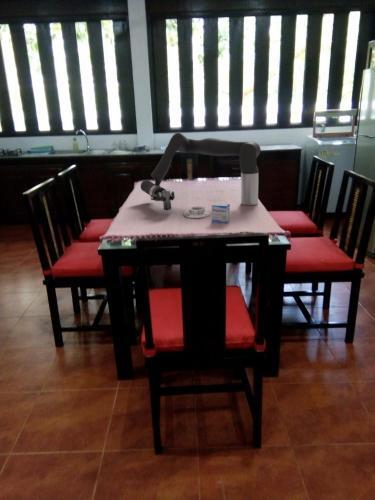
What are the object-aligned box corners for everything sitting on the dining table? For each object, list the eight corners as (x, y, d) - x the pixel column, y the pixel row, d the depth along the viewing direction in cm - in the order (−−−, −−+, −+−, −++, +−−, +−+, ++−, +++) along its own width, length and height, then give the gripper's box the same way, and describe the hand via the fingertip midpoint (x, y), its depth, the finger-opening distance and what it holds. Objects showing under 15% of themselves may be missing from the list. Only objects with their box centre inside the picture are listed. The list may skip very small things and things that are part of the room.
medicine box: (211, 222, 190) (211, 205, 187) (214, 220, 194) (214, 202, 191) (227, 223, 187) (227, 206, 184) (230, 221, 191) (229, 203, 188)
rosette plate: (185, 211, 212) (185, 205, 211) (211, 210, 210) (211, 204, 209) (182, 218, 199) (181, 212, 198) (209, 218, 197) (209, 211, 196)
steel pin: (164, 208, 209) (163, 189, 205) (172, 208, 208) (170, 189, 205) (163, 210, 205) (161, 191, 201) (170, 210, 205) (169, 191, 201)
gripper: (145, 188, 213) (154, 193, 198) (169, 184, 218) (180, 190, 203) (146, 201, 216) (156, 208, 201) (170, 197, 221) (181, 204, 206)
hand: (168, 199), depth 202 cm, fingers closed on steel pin, 4 cm apart
